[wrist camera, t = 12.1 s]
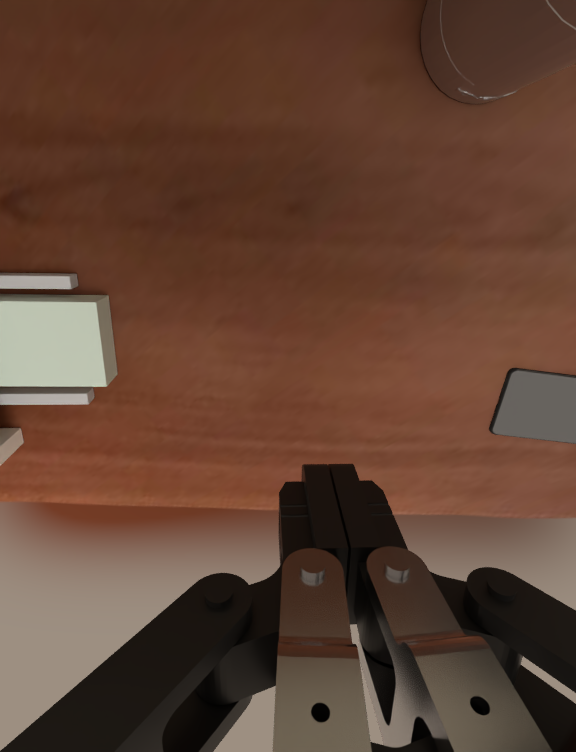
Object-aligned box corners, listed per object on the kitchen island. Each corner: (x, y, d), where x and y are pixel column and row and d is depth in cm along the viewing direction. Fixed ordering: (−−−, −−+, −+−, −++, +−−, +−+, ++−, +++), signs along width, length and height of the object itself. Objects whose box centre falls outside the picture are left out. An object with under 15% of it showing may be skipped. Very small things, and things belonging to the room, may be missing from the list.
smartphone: (511, 368, 41) (661, 388, 43) (506, 365, 42) (653, 384, 44) (489, 434, 44) (631, 451, 45) (485, 430, 45) (625, 446, 46)
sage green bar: (-93, 292, 37) (-122, 299, 34) (108, 295, 38) (96, 302, 35) (-71, 373, 39) (-97, 386, 36) (117, 374, 40) (106, 386, 37)
